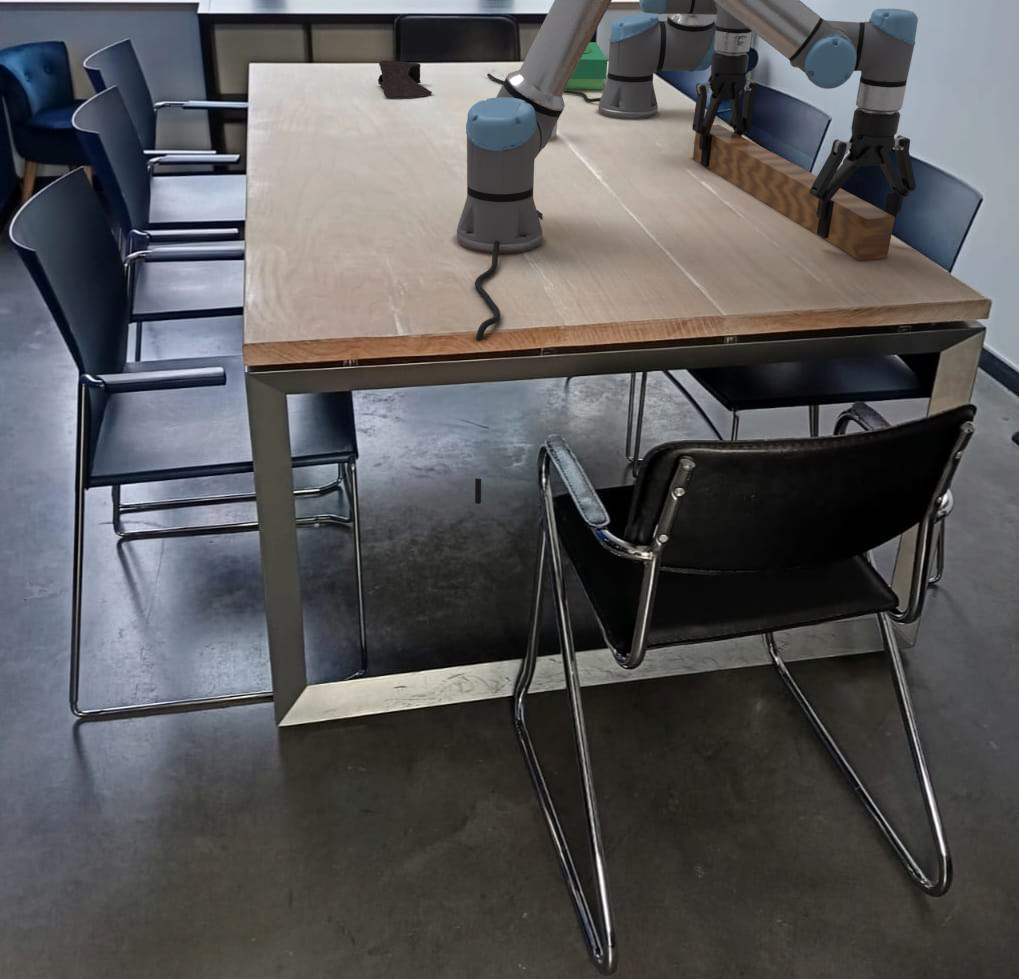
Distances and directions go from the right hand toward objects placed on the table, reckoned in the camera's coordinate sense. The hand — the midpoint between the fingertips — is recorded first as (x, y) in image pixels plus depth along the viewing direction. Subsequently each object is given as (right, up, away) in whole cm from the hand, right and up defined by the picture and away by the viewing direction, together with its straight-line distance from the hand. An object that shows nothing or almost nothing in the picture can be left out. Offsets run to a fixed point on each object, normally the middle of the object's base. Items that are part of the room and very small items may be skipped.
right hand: (717, 163), depth 241 cm
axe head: (-75, +38, +59) cm, 103 cm away
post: (+8, -14, -22) cm, 27 cm away
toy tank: (-29, +48, +78) cm, 96 cm away
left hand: (+16, -26, -45) cm, 54 cm away
